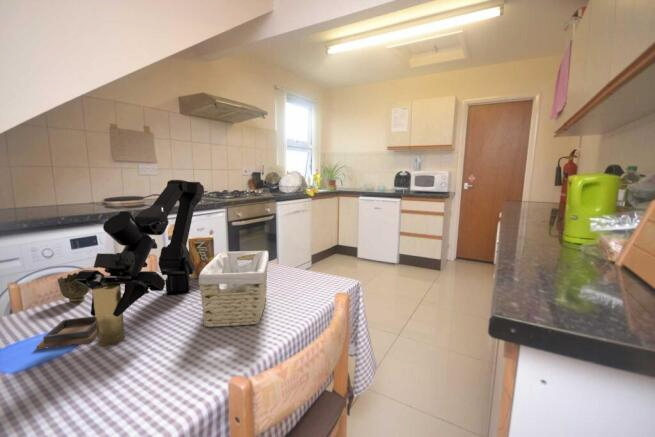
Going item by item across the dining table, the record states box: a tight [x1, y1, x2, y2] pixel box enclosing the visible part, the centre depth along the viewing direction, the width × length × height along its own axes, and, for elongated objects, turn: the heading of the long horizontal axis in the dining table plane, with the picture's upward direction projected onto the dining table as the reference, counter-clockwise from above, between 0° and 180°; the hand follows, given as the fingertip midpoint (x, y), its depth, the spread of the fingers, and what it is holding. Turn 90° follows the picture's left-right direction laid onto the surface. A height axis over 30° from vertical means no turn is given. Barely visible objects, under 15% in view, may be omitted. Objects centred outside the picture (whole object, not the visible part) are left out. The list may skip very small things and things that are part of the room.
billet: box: [93, 283, 126, 347], centre depth 65 cm, size 5×5×13 cm
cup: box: [57, 272, 90, 304], centre depth 85 cm, size 8×7×8 cm
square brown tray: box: [36, 315, 97, 350], centre depth 68 cm, size 10×10×2 cm
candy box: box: [187, 235, 215, 279], centre depth 109 cm, size 9×4×15 cm, turn 116°
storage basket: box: [198, 250, 269, 328], centre depth 82 cm, size 24×16×15 cm
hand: (104, 315), depth 64 cm, fingers closed on billet, 5 cm apart
